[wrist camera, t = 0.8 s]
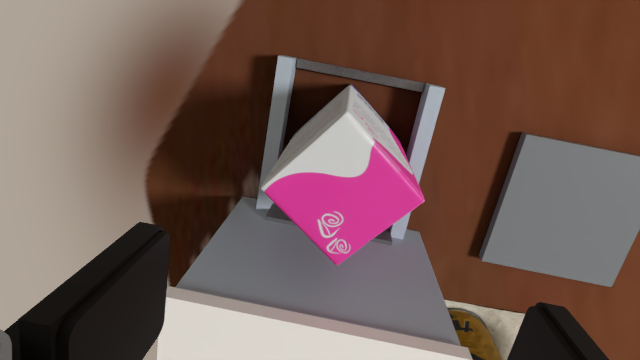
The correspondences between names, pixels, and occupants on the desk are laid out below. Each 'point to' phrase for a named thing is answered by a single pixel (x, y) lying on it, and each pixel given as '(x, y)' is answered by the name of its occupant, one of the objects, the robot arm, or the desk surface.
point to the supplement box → (344, 177)
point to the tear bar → (360, 75)
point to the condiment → (484, 329)
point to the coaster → (566, 210)
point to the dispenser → (310, 279)
